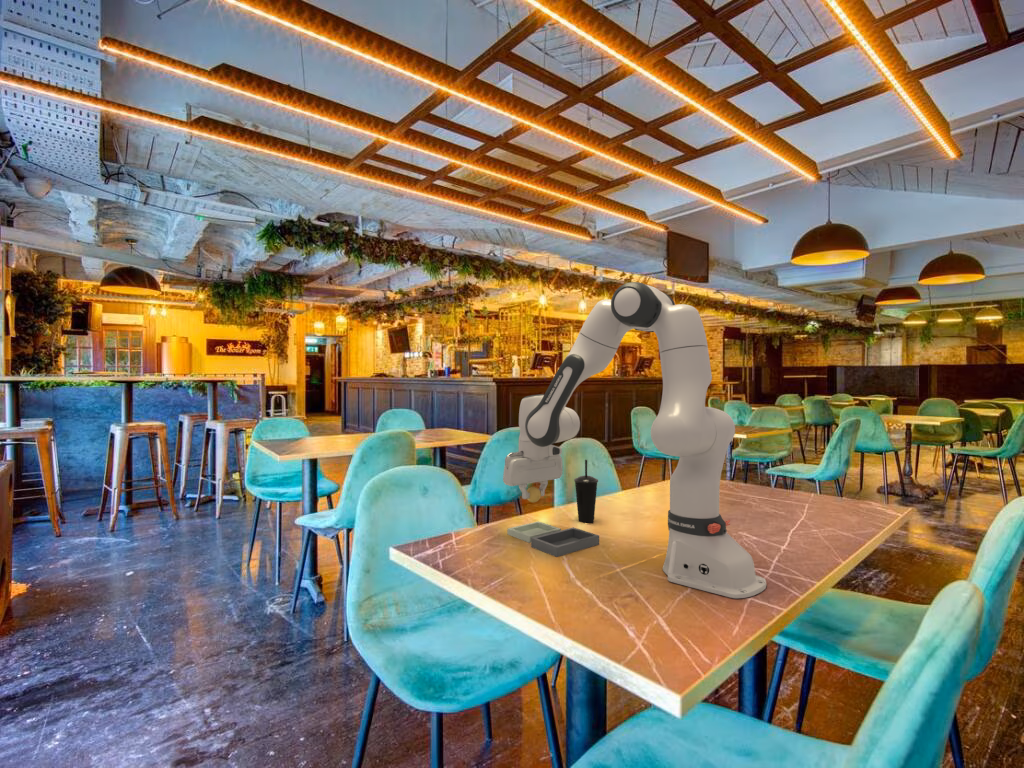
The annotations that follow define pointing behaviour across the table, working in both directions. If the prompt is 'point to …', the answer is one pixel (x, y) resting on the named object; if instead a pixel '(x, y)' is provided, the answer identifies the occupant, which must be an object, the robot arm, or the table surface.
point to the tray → (531, 530)
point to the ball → (534, 494)
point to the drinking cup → (586, 497)
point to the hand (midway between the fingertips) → (533, 497)
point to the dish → (564, 541)
